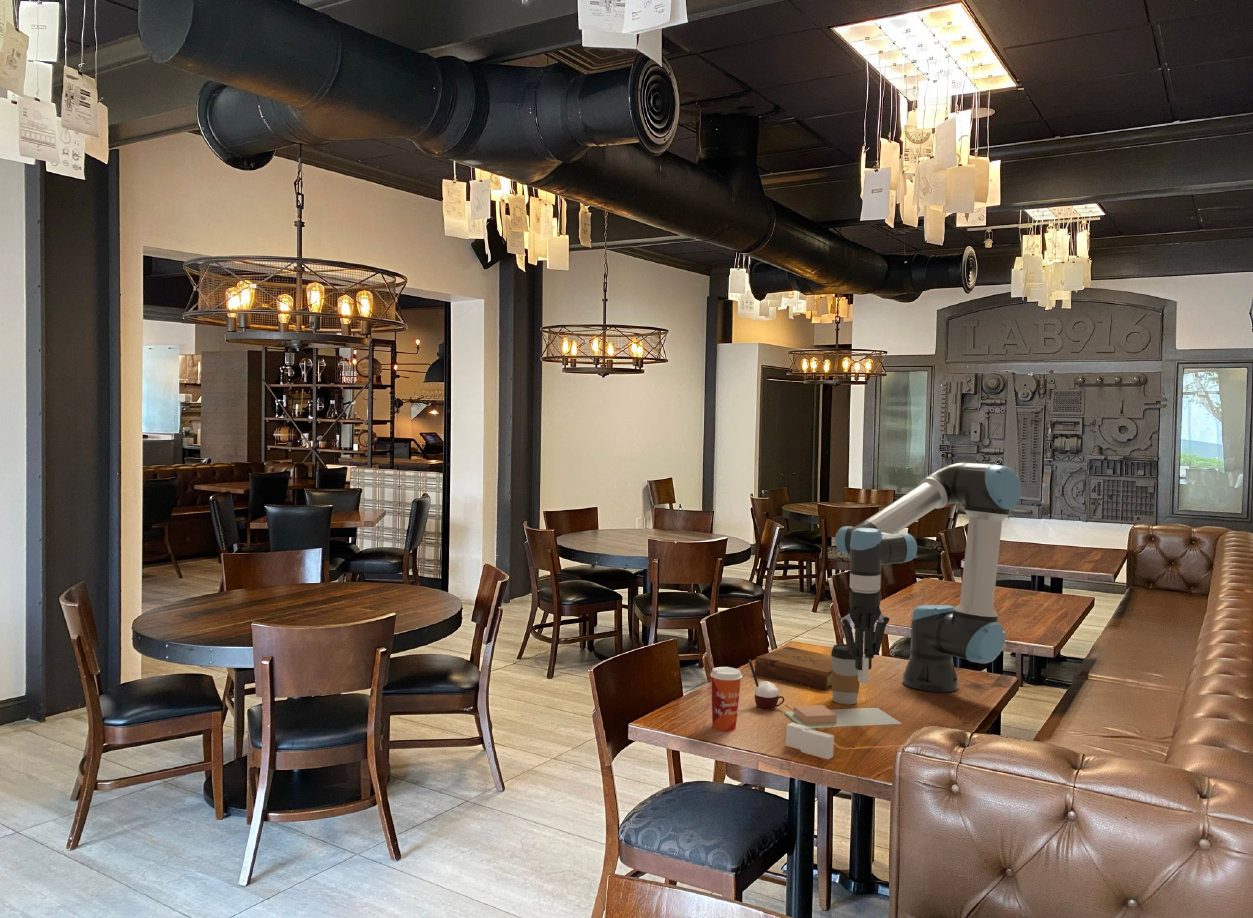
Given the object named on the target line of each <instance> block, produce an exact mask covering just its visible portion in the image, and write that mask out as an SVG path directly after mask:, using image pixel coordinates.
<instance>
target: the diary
mask: <svg viewBox="0 0 1253 918" xmlns="http://www.w3.org/2000/svg"><path fill="white" fill-rule="evenodd" d="M754 662H755V663H754V671H755V674H756V676H760V675H761V677H765V678H769V677H770V678H769V679H773V678H774V680H779V681H782V682H783V681H784V682H786V683H787V682H788V683H791V684H794V685H795V684H796V685H800V686H804V687H809V688H814V689H818V690H823V691H825V692H826V691H829V690H832V656H831V654H824V653H820V652H814V651H811V650H805V649H802V648H796V647H791V646H785V647H782V648H779V649H776V650H774V651H770V652H767V653H764V654H761V655H759V656H756V658H755V660H754Z"/></svg>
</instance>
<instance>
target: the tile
mask: <svg viewBox="0 0 1253 918" xmlns="http://www.w3.org/2000/svg"><path fill="white" fill-rule="evenodd" d="M831 710H832V709H830V708H828V707H826V706H825V705H824V704H820V705H819V704H816V705H815V704H814V705H800V706H799V705H795V706H793V711H794V713H793V714H794V715H795V716H796V717H798V718H799V719H800V720H801V721H803V722H804V723H805V724H824V723H837V715H836V714H835V713H833V712H832V711H831Z"/></svg>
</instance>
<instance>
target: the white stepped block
mask: <svg viewBox="0 0 1253 918" xmlns="http://www.w3.org/2000/svg"><path fill="white" fill-rule="evenodd" d="M785 731H786V734H785V746H786V747H790V748H794V749H795V750H796V749H797V750H800V753H805V754H806V755H811V756H814V757H819V758H821V759H824V760H825V759H826V760H830V759H832V758H833V757H834V749H835V748H834V747H835V735H833V734H830V733H828V732H822V731H818V730H812V729H811V728H809V727H807V726H803V725H799V724H797V723H795V722H790V723H788V724H786V729H785Z"/></svg>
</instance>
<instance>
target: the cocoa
mask: <svg viewBox="0 0 1253 918" xmlns="http://www.w3.org/2000/svg"><path fill="white" fill-rule="evenodd" d="M748 663H749V668H750V671H751V673H752V676H753V680H754V683H755V687H754V702H755V705H756V706H757V707H758V708H759V709H761V710H764V711H766V710H767V711H770V710H774V709H775V708H778V707H779V706H781V705H782V704H784V702H785V698H784V696H782V695H779V689H778V688H777V686H776V685H775V684H774V683H772V682H771V681H760V682H759V681H758V679H757V675H756V674H755V667H754V665H753V663H752V660H751V659H749V660H748ZM779 699H782V701H781V702H779ZM778 702H779V703H778Z"/></svg>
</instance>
